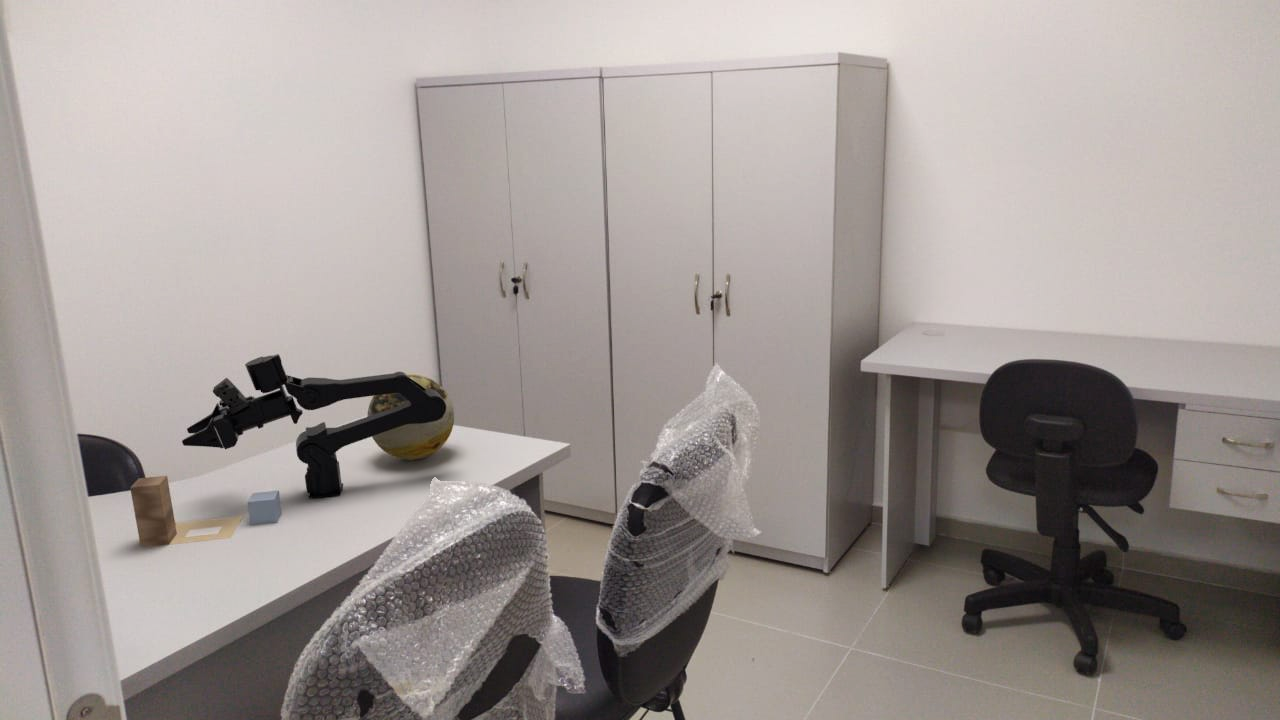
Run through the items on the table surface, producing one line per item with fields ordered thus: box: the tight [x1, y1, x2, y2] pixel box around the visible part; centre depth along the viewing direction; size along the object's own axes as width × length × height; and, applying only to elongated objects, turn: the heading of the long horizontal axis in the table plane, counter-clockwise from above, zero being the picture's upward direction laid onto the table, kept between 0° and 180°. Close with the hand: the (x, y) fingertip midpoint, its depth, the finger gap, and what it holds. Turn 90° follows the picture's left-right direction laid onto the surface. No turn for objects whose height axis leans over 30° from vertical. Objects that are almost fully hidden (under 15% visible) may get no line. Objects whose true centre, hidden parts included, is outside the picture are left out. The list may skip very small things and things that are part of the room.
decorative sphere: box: [366, 374, 455, 461], centre depth 216 cm, size 20×20×20 cm
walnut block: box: [130, 475, 177, 548], centre depth 175 cm, size 5×5×12 cm
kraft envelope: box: [149, 515, 244, 548], centre depth 180 cm, size 16×11×1 cm
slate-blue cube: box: [246, 490, 283, 526], centre depth 184 cm, size 5×5×5 cm
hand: (185, 436), depth 186 cm, fingers open, 9 cm apart
